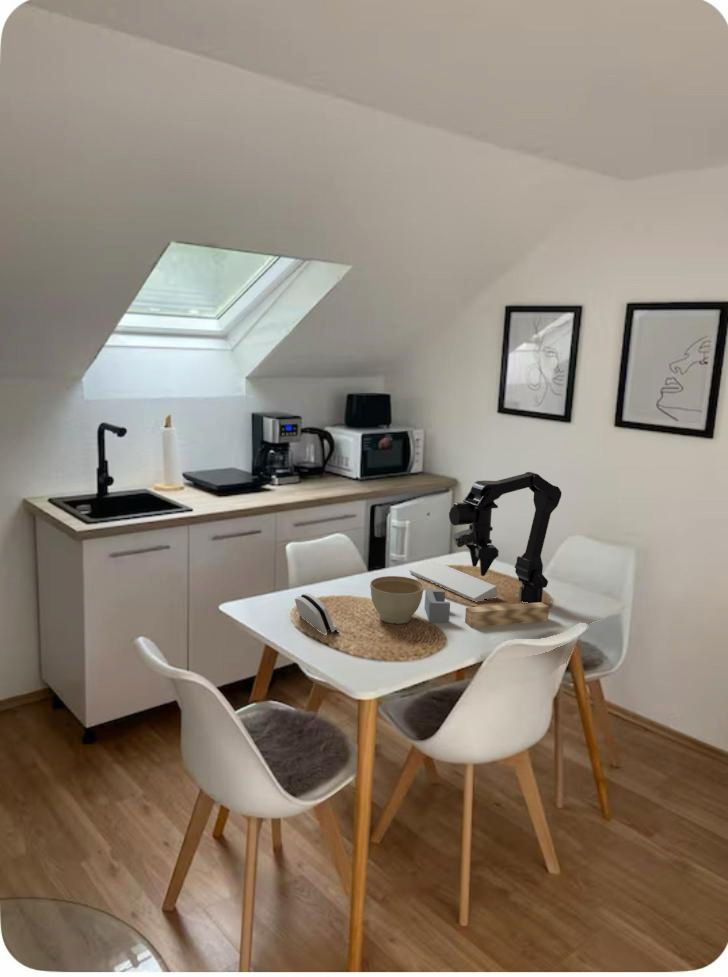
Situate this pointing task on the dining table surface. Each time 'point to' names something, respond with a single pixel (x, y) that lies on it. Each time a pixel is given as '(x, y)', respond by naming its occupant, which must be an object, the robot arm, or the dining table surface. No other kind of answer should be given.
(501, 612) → the oak slat
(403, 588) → the planter bowl
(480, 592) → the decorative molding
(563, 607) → the dining table surface
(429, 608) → the end cap
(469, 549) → the robot arm
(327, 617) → the grey black arched block
